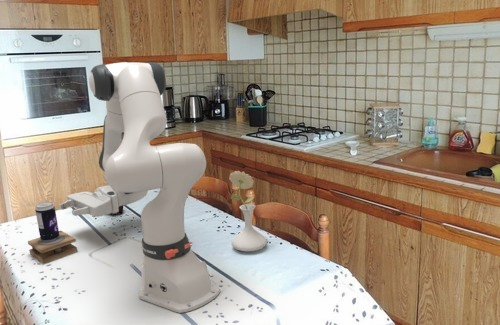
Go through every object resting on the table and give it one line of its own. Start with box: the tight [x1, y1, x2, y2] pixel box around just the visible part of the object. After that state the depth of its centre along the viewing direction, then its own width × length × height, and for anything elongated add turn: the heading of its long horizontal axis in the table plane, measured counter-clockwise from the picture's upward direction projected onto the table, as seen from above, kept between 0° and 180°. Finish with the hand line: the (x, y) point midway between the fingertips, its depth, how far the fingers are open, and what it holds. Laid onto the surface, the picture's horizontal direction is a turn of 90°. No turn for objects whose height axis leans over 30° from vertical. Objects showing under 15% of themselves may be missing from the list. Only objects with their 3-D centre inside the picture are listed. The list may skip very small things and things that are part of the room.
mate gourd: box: [102, 175, 125, 217], centre depth 180 cm, size 8×8×15 cm
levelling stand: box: [27, 230, 79, 265], centre depth 147 cm, size 11×11×5 cm
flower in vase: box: [228, 170, 268, 252], centre depth 143 cm, size 13×11×25 cm
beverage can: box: [34, 201, 60, 242], centre depth 145 cm, size 6×6×12 cm
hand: (66, 210), depth 149 cm, fingers open, 8 cm apart
